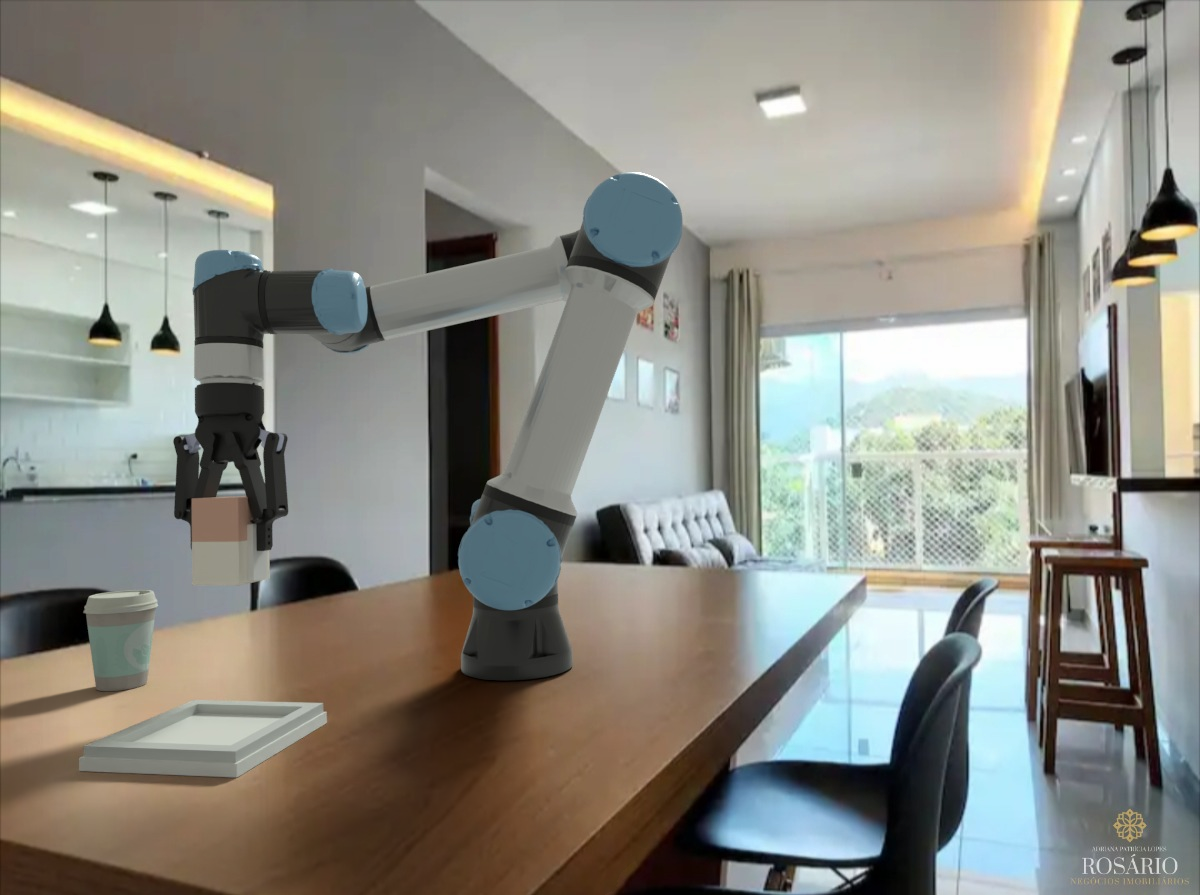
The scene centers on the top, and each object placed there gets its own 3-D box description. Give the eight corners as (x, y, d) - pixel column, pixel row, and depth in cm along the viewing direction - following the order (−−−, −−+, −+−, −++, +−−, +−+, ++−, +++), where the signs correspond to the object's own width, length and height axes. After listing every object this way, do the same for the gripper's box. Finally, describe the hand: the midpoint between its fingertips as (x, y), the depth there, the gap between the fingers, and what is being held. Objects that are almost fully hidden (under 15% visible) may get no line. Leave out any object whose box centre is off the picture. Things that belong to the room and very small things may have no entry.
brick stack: (269, 578, 99) (269, 496, 99) (238, 585, 93) (238, 497, 93) (225, 578, 100) (224, 496, 100) (192, 585, 94) (191, 498, 95)
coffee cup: (125, 695, 102) (124, 599, 103) (67, 693, 104) (66, 598, 104) (173, 678, 111) (173, 589, 111) (119, 676, 112) (118, 589, 113)
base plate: (326, 722, 88) (326, 702, 89) (236, 777, 73) (236, 752, 73) (193, 719, 91) (193, 699, 91) (79, 771, 75) (79, 746, 76)
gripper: (319, 383, 99) (322, 575, 98) (180, 390, 103) (182, 575, 102) (284, 376, 92) (287, 583, 91) (136, 384, 95) (137, 583, 95)
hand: (231, 578), depth 97 cm, fingers closed on brick stack, 6 cm apart
